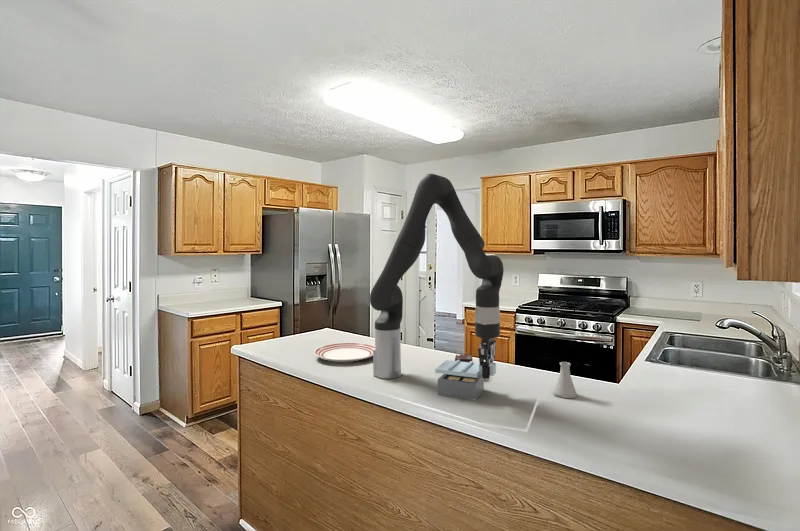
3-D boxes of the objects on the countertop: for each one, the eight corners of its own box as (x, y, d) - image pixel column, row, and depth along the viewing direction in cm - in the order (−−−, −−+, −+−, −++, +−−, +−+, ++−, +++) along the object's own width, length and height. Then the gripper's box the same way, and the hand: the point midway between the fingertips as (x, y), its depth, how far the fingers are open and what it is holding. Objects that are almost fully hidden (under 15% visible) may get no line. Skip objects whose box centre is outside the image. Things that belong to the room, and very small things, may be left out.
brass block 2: (461, 394, 134) (461, 381, 134) (464, 390, 138) (464, 377, 138) (473, 395, 133) (473, 383, 133) (477, 391, 136) (477, 379, 136)
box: (472, 380, 150) (472, 359, 150) (454, 379, 151) (454, 358, 151) (472, 374, 156) (472, 354, 156) (456, 374, 157) (455, 354, 157)
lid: (435, 372, 134) (435, 363, 134) (446, 363, 144) (446, 354, 144) (490, 379, 127) (490, 369, 127) (498, 369, 137) (498, 360, 137)
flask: (575, 400, 129) (575, 367, 129) (550, 396, 133) (550, 364, 132) (579, 393, 135) (579, 361, 135) (555, 389, 139) (555, 358, 139)
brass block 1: (445, 392, 137) (445, 379, 136) (449, 388, 140) (449, 376, 140) (457, 393, 135) (457, 381, 135) (461, 389, 139) (461, 377, 138)
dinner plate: (392, 355, 185) (392, 348, 185) (343, 370, 165) (343, 361, 165) (349, 346, 203) (349, 339, 203) (300, 358, 183) (300, 350, 183)
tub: (438, 396, 134) (437, 379, 134) (448, 386, 144) (447, 370, 143) (475, 401, 130) (475, 383, 129) (483, 391, 139) (483, 374, 138)
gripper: (480, 316, 140) (481, 368, 141) (469, 324, 127) (469, 381, 128) (504, 317, 137) (504, 371, 138) (494, 325, 124) (494, 384, 125)
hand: (487, 376), depth 133 cm, fingers closed on lid, 3 cm apart
